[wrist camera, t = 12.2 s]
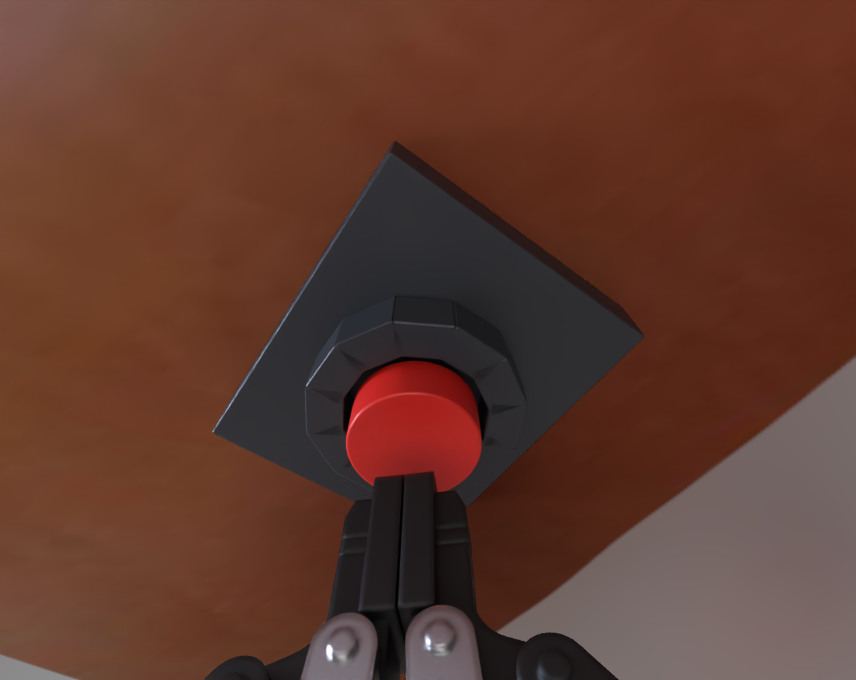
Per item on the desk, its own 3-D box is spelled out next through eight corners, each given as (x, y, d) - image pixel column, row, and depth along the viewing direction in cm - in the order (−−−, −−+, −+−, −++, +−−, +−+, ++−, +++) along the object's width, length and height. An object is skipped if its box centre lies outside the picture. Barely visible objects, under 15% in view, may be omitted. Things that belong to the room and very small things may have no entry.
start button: (430, 476, 18) (430, 516, 16) (330, 424, 17) (320, 461, 15) (502, 400, 16) (510, 436, 15) (397, 336, 15) (394, 368, 13)
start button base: (432, 500, 23) (433, 579, 20) (231, 398, 20) (190, 467, 17) (623, 308, 19) (668, 365, 15) (394, 139, 16) (384, 162, 12)
